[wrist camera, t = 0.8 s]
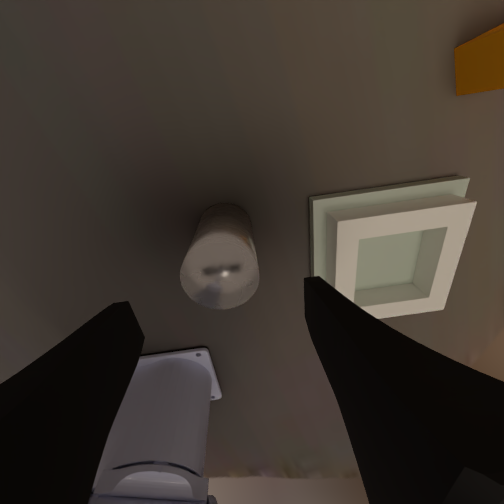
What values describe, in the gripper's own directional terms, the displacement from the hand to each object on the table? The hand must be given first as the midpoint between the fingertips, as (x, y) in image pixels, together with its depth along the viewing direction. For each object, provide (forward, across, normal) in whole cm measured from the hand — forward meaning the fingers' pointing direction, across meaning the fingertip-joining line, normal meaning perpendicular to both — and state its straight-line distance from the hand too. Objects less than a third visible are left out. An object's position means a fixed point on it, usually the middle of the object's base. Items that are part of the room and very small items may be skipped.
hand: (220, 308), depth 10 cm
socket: (+9, -12, +4) cm, 16 cm away
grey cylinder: (+9, 0, 0) cm, 9 cm away
